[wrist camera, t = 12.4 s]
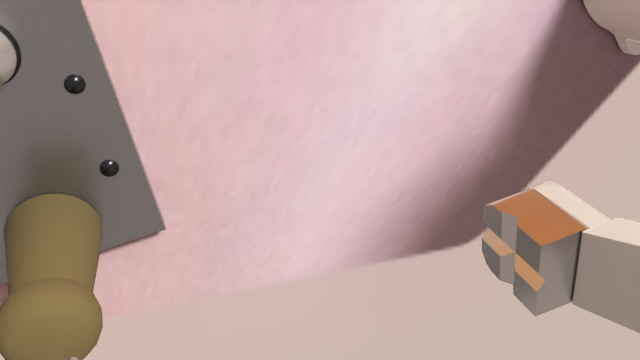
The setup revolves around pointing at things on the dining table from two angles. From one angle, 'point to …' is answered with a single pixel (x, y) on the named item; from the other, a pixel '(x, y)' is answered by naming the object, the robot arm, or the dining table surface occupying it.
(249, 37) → the dining table surface
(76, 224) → the cork
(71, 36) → the flange plate
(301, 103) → the dining table surface
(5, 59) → the steel pin
